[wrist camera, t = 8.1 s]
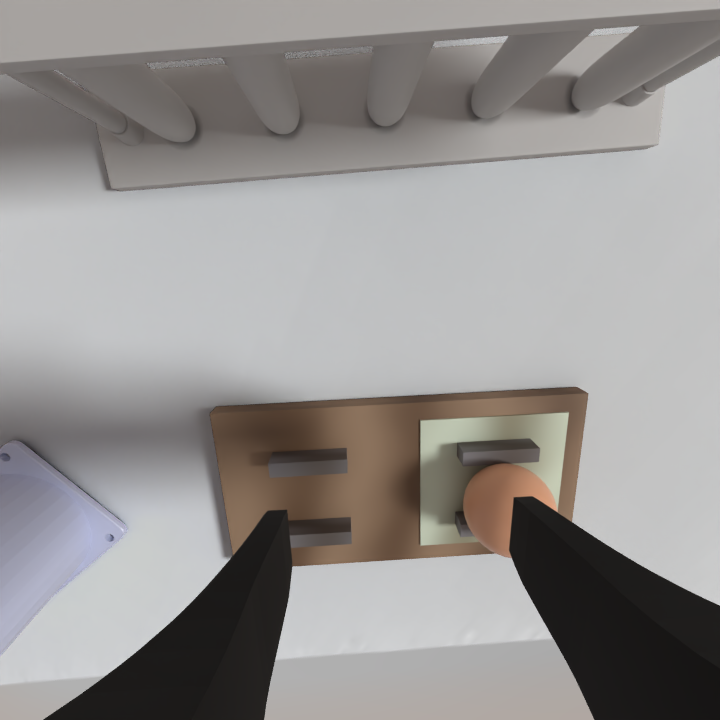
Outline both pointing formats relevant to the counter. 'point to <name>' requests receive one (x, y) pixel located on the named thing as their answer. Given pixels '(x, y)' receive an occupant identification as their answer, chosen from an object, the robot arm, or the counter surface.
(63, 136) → the counter surface
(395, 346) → the counter surface
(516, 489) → the terracotta ball
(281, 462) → the cradle board
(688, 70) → the test tube rack
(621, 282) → the counter surface
